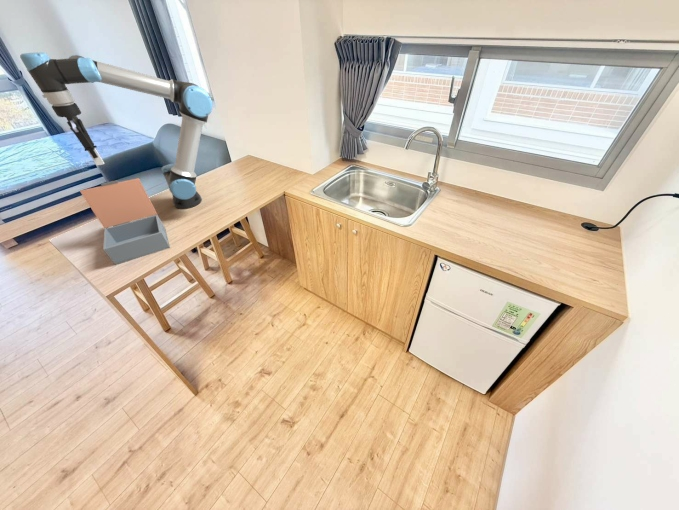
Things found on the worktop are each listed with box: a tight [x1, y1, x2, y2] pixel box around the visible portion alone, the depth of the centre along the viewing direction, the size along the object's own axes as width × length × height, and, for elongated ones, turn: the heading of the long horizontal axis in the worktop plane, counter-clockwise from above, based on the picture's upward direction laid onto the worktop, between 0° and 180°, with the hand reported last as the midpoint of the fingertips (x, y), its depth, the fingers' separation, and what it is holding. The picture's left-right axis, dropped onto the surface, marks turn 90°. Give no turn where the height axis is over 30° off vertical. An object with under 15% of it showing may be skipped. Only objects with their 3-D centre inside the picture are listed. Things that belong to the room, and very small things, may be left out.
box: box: [103, 214, 171, 266], centre depth 124 cm, size 18×22×9 cm
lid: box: [79, 178, 158, 229], centre depth 122 cm, size 19×22×1 cm
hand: (100, 164), depth 116 cm, fingers closed
